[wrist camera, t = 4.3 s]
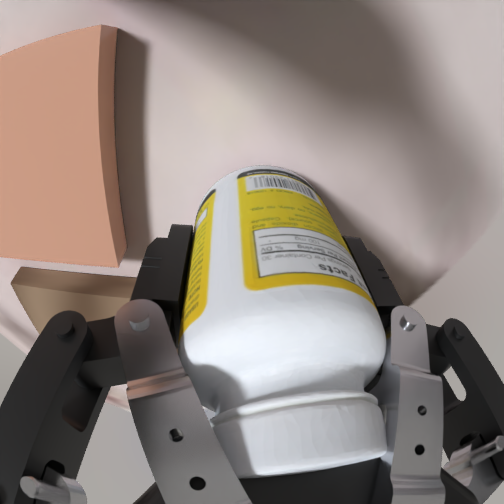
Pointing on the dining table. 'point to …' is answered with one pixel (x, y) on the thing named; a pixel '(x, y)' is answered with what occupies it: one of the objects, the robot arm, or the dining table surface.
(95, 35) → the terracotta tile
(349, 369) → the supplement bottle
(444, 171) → the dining table surface
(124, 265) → the dining table surface
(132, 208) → the dining table surface
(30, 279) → the walnut mat
